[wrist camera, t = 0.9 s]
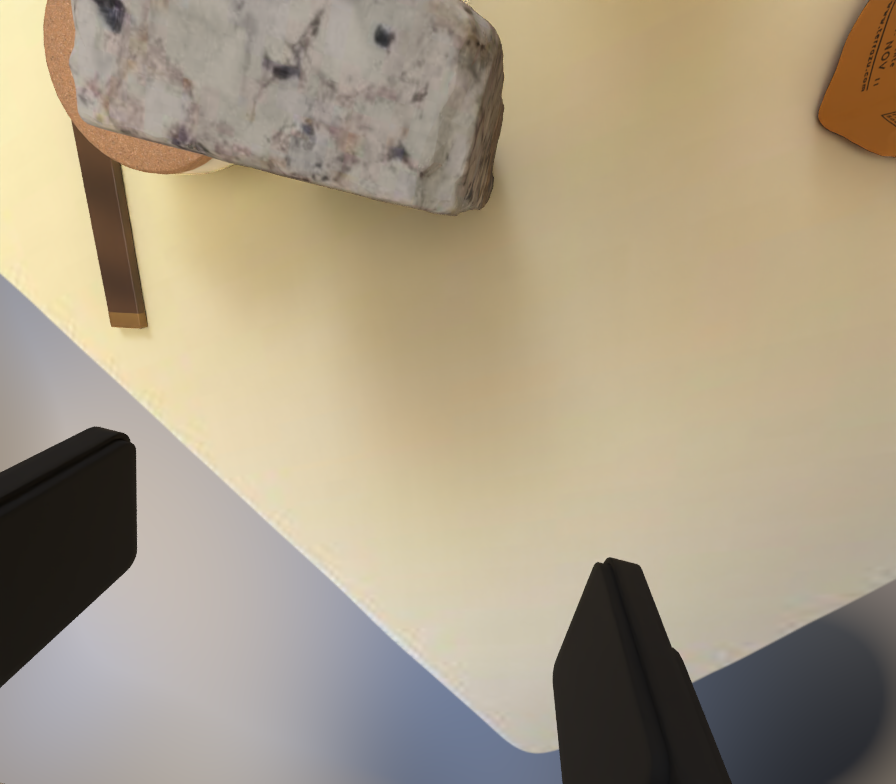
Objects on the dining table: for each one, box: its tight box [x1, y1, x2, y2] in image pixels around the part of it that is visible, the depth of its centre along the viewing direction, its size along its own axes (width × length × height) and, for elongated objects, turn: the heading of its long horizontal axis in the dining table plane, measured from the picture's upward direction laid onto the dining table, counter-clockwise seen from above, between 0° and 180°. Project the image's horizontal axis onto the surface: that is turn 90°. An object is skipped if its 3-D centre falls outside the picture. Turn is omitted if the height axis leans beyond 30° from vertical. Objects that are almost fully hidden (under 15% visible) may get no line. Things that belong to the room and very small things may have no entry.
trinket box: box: [43, 0, 234, 175], centre depth 28 cm, size 11×11×9 cm
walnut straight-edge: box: [71, 120, 147, 328], centre depth 35 cm, size 21×2×1 cm, turn 178°
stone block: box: [69, 0, 504, 216], centre depth 23 cm, size 13×7×20 cm, turn 81°
